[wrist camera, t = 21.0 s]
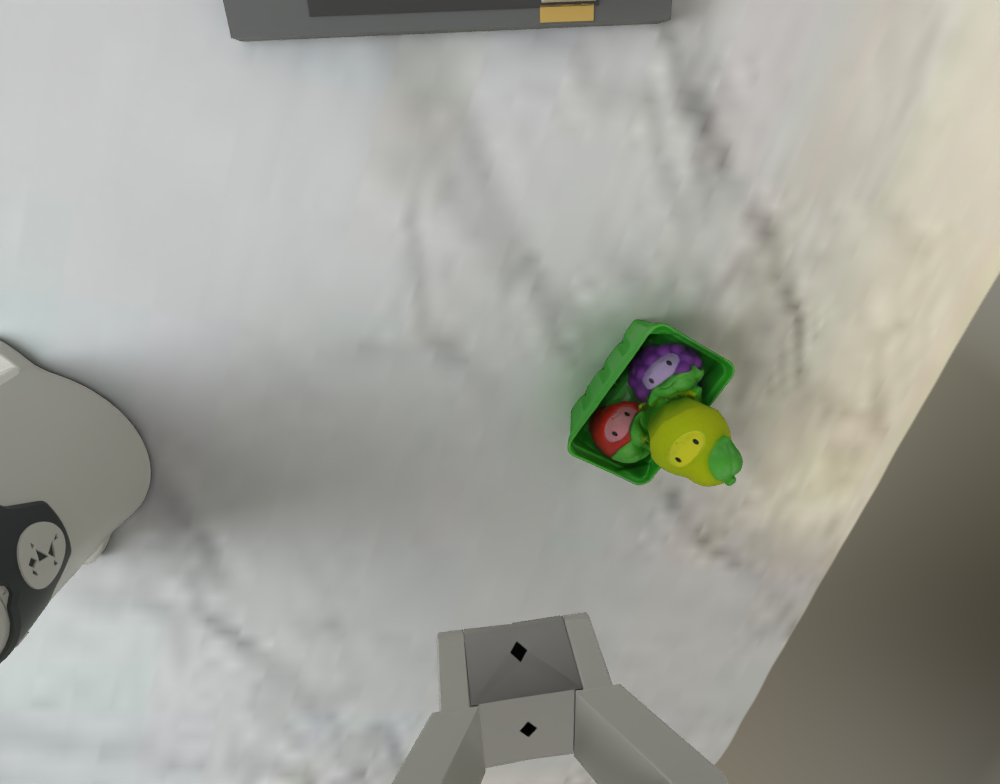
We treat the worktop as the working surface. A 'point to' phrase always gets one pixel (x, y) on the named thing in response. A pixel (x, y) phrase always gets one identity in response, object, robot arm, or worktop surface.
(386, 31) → the switch panel
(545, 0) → the cream tab
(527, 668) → the robot arm
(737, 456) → the fruit basket
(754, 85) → the worktop surface
